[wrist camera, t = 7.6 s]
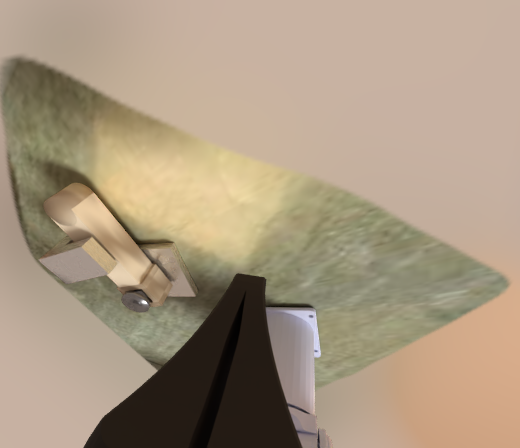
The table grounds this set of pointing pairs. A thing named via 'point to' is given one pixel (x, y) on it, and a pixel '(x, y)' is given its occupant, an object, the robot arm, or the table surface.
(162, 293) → the link
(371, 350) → the table surface
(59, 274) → the block
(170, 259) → the pintle base
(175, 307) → the table surface
